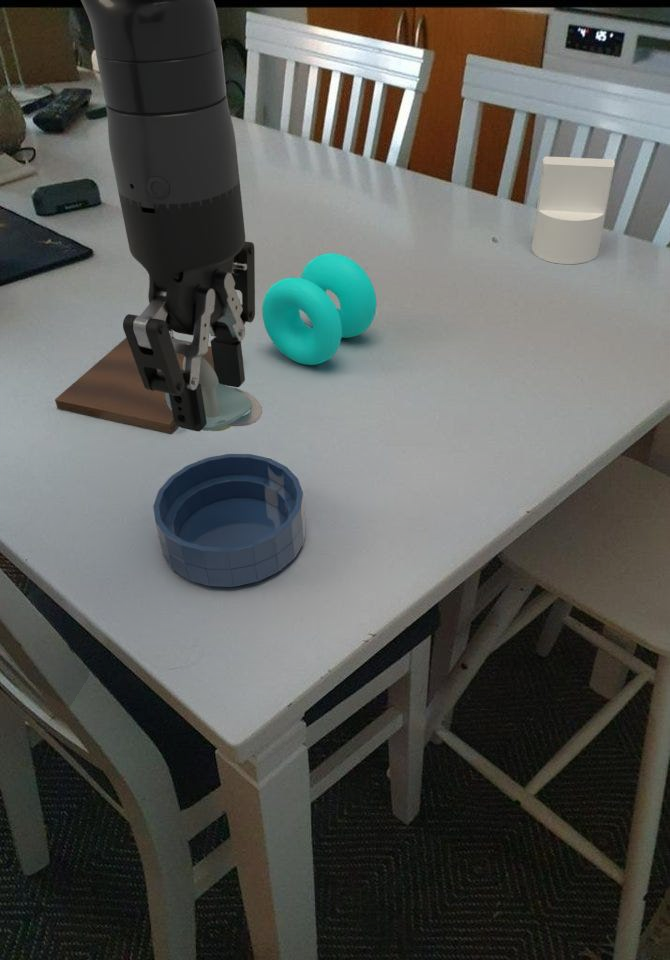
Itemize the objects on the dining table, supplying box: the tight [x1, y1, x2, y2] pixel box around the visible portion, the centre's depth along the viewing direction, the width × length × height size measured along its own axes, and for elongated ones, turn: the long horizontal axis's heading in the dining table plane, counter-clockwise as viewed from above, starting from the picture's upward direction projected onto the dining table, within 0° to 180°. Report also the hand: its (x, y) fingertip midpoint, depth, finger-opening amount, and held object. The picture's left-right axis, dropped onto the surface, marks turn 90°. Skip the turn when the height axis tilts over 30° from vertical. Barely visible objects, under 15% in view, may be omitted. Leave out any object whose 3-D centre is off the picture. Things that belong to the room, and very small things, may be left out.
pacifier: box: [165, 357, 263, 432], centre depth 60 cm, size 7×6×6 cm
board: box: [54, 337, 215, 435], centre depth 89 cm, size 15×14×1 cm
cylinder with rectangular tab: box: [531, 156, 616, 265], centre depth 108 cm, size 9×9×12 cm
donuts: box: [261, 252, 377, 366], centre depth 91 cm, size 10×10×10 cm
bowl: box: [152, 453, 307, 588], centre depth 68 cm, size 12×12×4 cm
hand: (211, 403), depth 61 cm, fingers closed on pacifier, 5 cm apart
